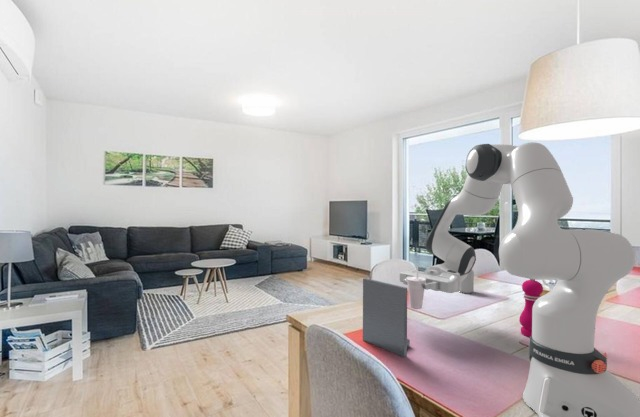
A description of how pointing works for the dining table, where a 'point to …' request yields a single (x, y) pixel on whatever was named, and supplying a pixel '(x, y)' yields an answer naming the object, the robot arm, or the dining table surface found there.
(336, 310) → the dining table surface
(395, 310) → the gray menu stand
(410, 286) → the smoothie
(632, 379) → the dining table surface
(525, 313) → the pepper mill
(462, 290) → the can
